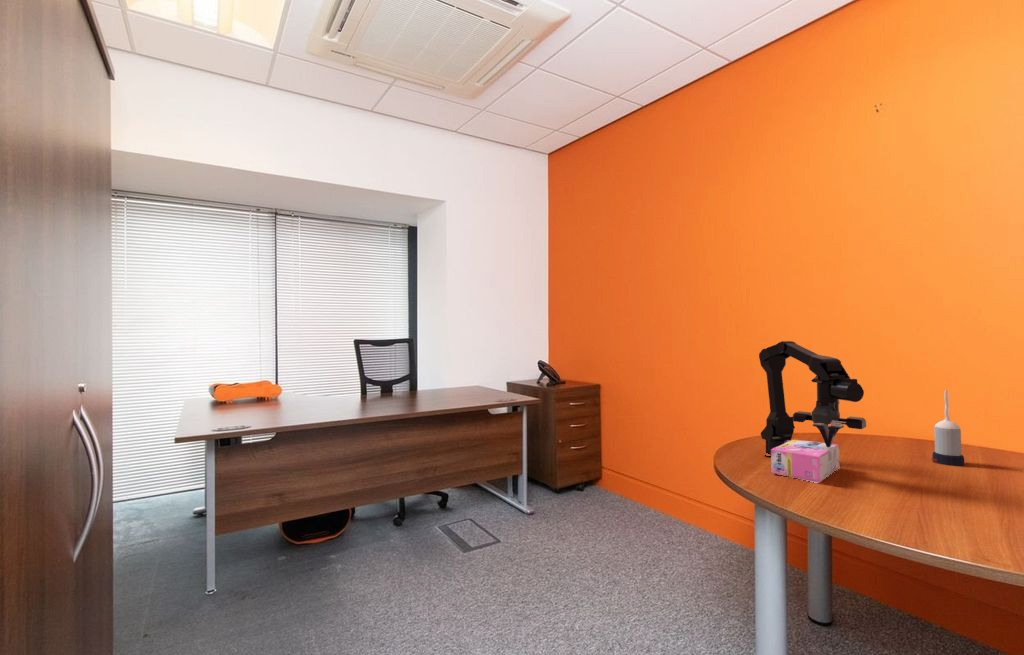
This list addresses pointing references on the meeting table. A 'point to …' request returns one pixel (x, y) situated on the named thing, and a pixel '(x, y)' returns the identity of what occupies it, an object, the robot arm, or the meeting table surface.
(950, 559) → the meeting table surface
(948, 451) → the humidifier
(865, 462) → the meeting table surface
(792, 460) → the gum box
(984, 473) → the meeting table surface
